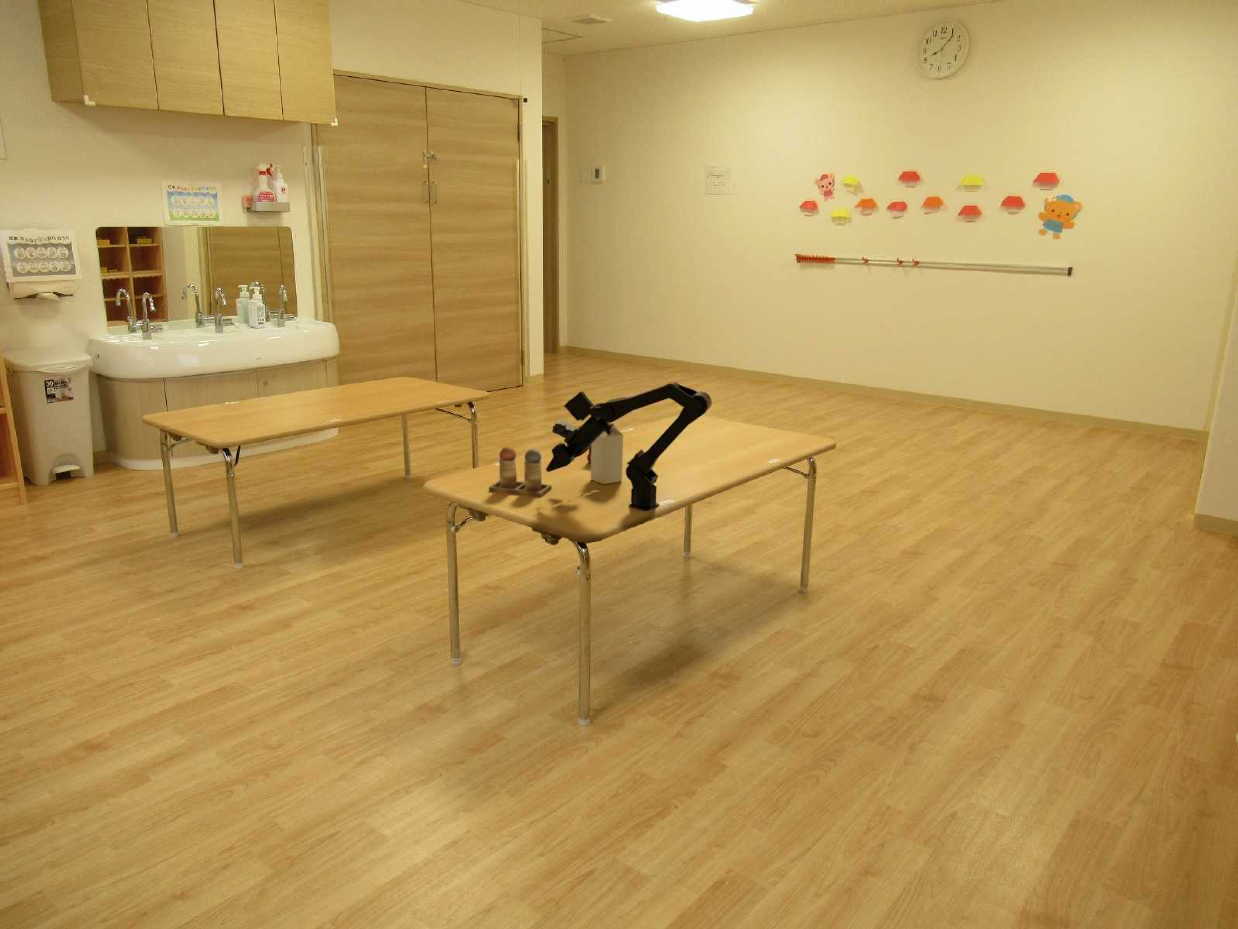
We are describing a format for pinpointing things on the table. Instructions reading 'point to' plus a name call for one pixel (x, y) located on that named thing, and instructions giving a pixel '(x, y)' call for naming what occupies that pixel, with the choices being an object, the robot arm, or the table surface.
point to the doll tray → (520, 489)
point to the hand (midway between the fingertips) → (552, 466)
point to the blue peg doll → (532, 471)
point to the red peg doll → (508, 468)
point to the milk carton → (607, 457)
